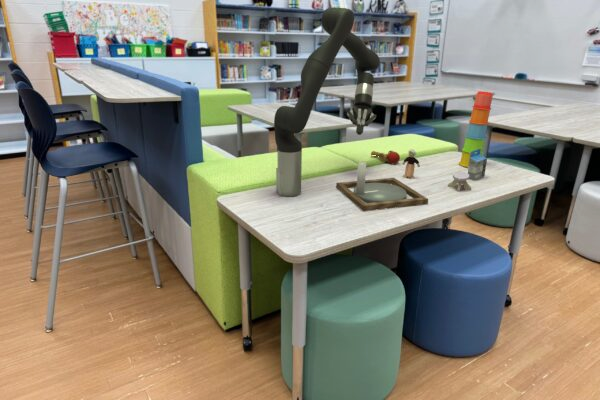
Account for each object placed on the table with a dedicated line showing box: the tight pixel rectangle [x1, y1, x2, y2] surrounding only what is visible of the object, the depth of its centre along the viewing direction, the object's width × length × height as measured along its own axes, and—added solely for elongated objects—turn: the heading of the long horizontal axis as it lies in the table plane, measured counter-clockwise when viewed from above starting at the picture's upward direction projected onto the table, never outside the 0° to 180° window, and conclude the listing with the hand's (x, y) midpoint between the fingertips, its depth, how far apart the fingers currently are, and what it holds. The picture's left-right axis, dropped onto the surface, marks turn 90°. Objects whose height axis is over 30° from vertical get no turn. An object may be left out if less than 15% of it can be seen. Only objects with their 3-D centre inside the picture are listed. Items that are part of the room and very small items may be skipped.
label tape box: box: [467, 149, 488, 181], centre depth 185 cm, size 9×4×12 cm, turn 131°
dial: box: [353, 161, 408, 203], centre depth 163 cm, size 20×20×14 cm
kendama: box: [370, 150, 401, 165], centre depth 211 cm, size 8×6×18 cm
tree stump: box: [447, 170, 472, 192], centre depth 174 cm, size 10×9×6 cm
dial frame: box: [335, 177, 429, 212], centre depth 165 cm, size 26×26×2 cm
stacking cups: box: [458, 90, 494, 168], centre depth 199 cm, size 10×10×35 cm
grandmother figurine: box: [401, 148, 421, 179], centre depth 185 cm, size 8×4×13 cm, turn 68°
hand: (359, 134), depth 179 cm, fingers closed
